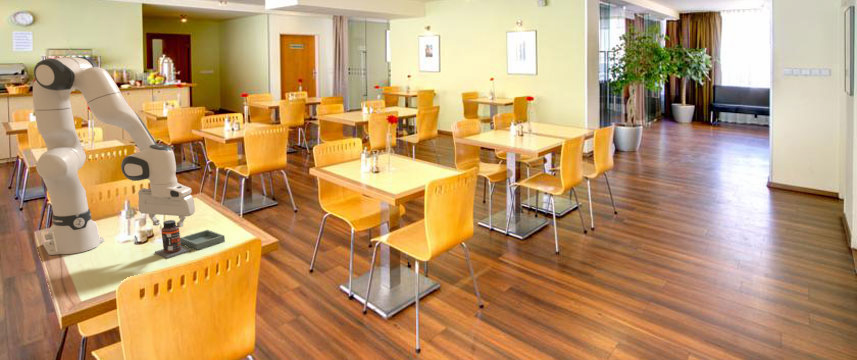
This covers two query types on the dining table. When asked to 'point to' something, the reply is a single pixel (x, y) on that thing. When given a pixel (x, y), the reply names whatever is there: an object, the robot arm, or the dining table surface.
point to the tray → (202, 239)
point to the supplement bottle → (171, 237)
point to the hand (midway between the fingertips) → (168, 225)
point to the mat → (169, 255)
